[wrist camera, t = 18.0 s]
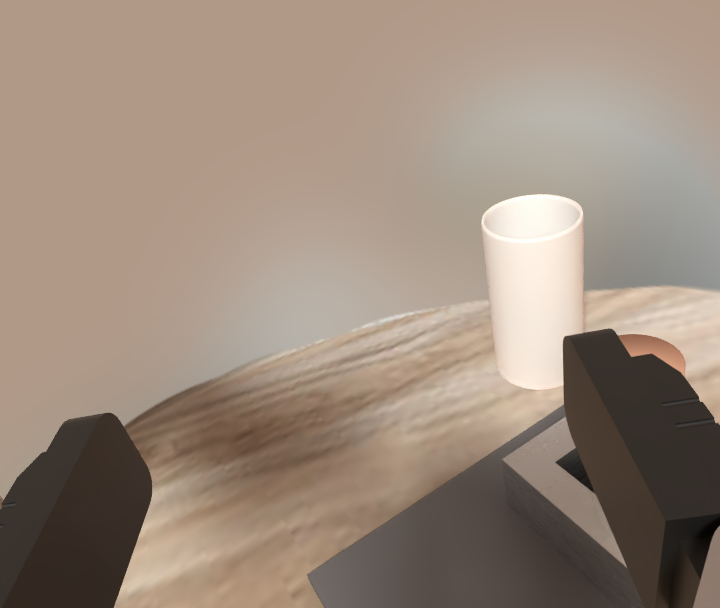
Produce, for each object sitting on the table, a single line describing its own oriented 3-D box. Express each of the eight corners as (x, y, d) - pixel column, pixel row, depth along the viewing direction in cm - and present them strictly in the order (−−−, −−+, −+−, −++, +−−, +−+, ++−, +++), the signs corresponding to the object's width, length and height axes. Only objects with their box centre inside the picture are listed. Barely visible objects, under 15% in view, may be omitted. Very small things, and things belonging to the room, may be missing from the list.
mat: (310, 582, 43) (306, 574, 42) (584, 400, 52) (584, 391, 51) (453, 835, 30) (451, 829, 29) (787, 531, 39) (789, 522, 38)
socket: (506, 504, 44) (501, 459, 41) (618, 425, 48) (620, 379, 45) (647, 637, 34) (652, 590, 32) (772, 525, 38) (786, 475, 36)
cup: (567, 399, 53) (564, 244, 44) (482, 377, 57) (464, 233, 49) (594, 345, 58) (596, 196, 49) (514, 329, 62) (503, 191, 54)
